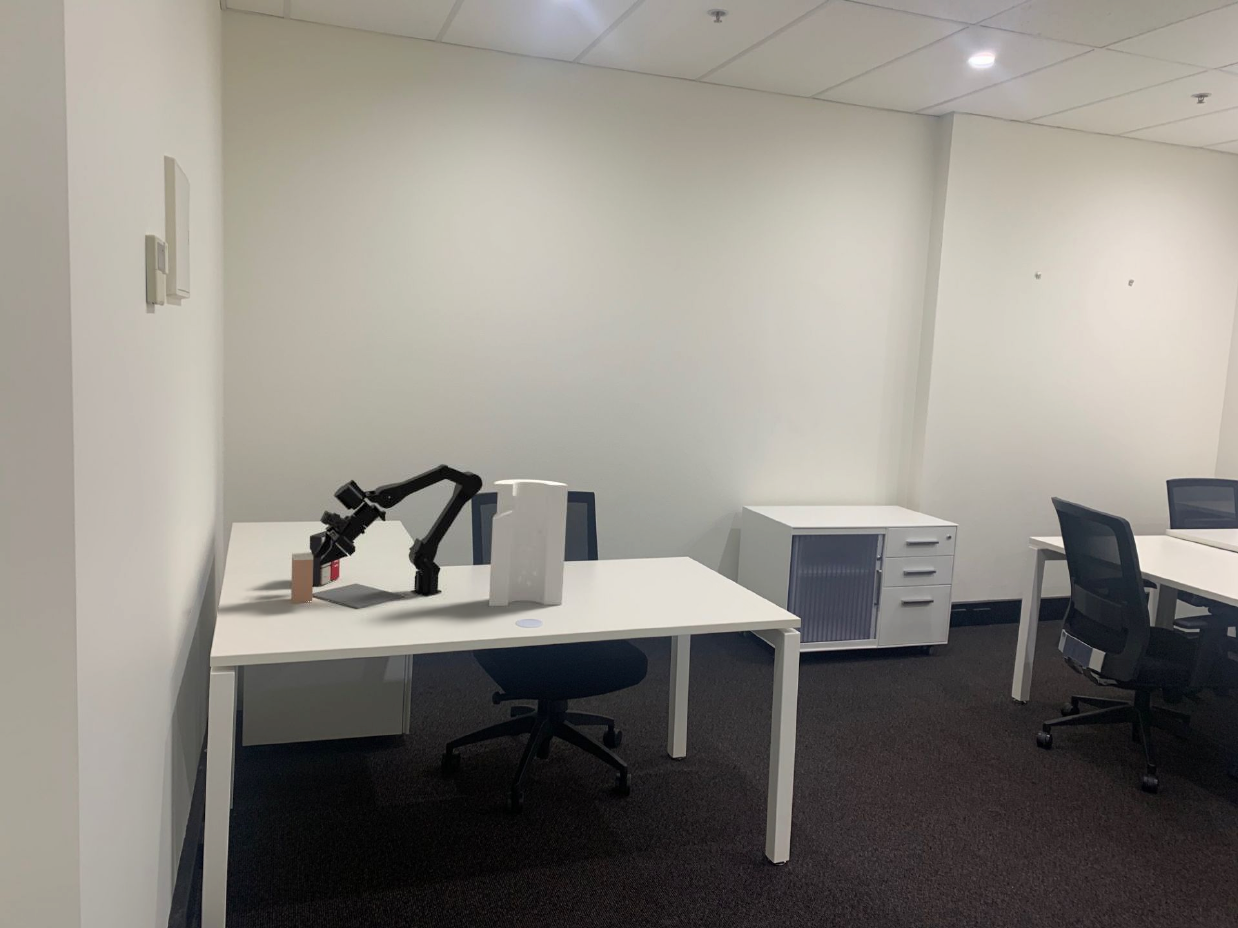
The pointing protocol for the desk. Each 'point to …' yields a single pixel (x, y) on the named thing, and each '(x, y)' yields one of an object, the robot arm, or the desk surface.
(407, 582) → the desk surface
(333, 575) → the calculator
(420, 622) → the desk surface
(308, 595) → the peach block
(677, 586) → the desk surface
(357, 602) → the grey mat
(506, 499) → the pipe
